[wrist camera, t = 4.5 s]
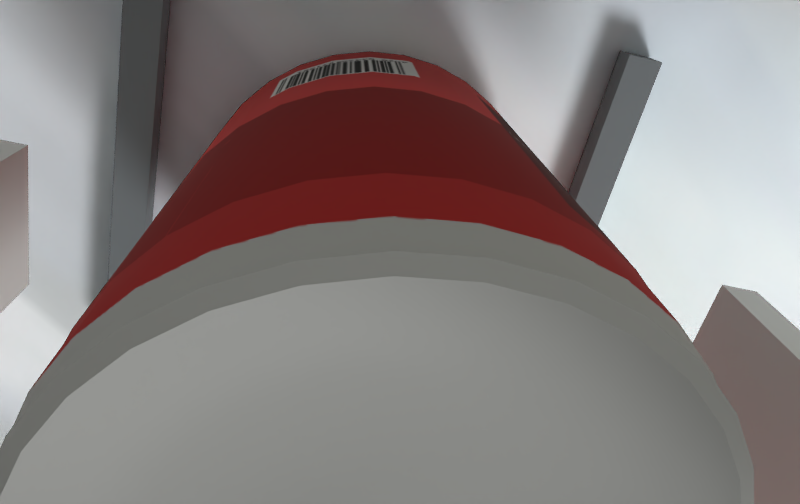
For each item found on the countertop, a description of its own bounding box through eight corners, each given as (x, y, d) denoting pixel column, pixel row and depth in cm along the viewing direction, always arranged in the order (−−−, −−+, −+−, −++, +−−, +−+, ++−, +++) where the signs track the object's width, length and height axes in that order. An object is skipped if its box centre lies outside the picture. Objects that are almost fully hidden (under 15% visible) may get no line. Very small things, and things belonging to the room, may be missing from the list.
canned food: (144, 220, 16) (-187, 650, 6) (352, -35, 14) (343, 12, 4) (371, 380, 19) (389, 866, 9) (578, 185, 17) (908, 543, 7)
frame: (111, 342, 18) (103, 354, 17) (135, -71, 13) (126, -72, 13) (517, 404, 19) (522, 418, 19) (651, 58, 15) (662, 62, 15)
